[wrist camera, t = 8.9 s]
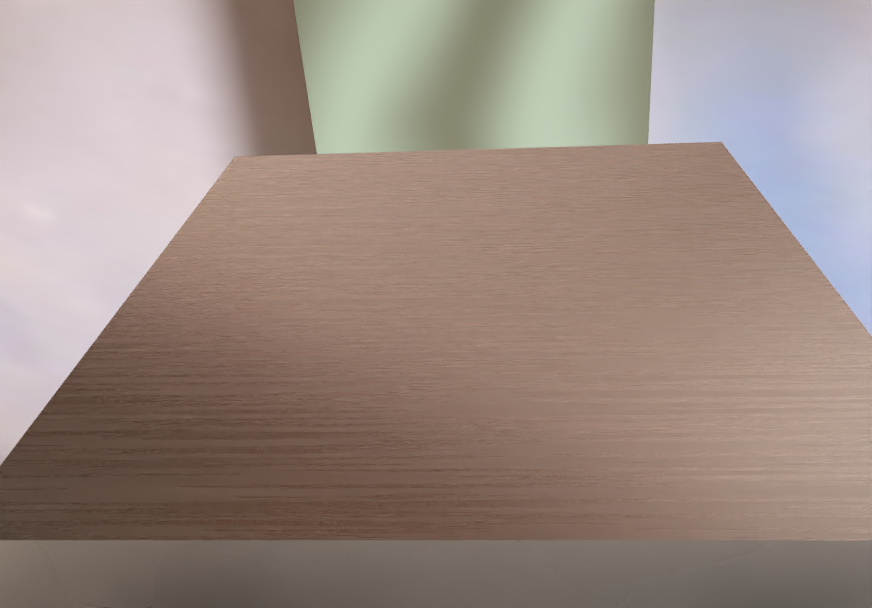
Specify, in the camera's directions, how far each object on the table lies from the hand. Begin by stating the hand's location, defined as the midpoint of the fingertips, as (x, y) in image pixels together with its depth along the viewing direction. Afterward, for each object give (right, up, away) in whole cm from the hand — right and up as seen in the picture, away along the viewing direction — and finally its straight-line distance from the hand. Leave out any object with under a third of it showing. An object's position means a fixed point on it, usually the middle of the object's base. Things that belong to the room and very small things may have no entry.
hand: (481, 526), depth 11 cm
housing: (0, +1, +1) cm, 1 cm away
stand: (+1, +12, +22) cm, 25 cm away
